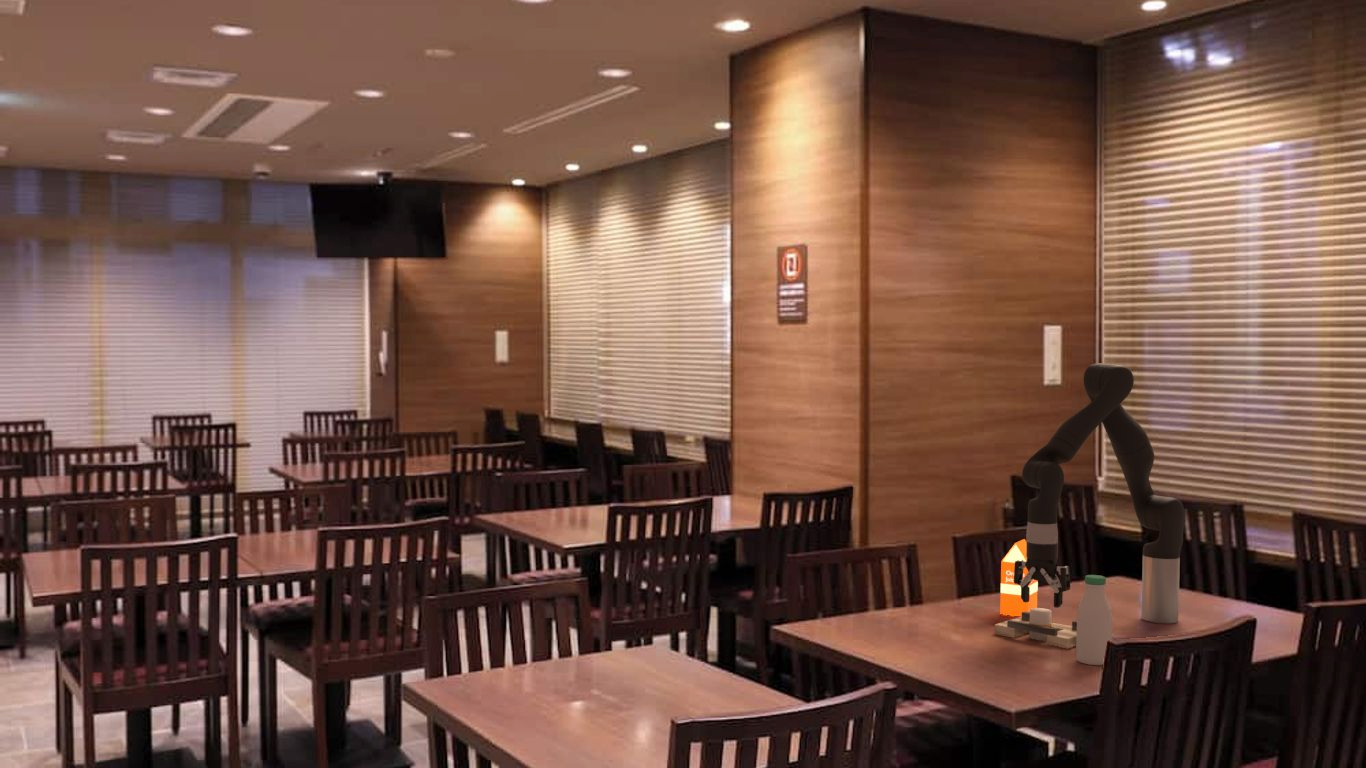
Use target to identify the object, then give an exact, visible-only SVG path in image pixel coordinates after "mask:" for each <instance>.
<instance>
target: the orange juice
mask: <svg viewBox="0 0 1366 768" xmlns="http://www.w3.org/2000/svg"><path fill="white" fill-rule="evenodd" d="M1017 560H1023V561H1027V557H1026V539H1025V538H1024V539H1021V540H1019V541H1017V542H1014V544H1013V545H1012V547H1011V548H1010V549H1009V551H1008V552H1007V553H1006V555H1005V556H1004V557H1003V558H1002V560H1001V562H1000V563H1001V564H1000V565H1001V566H1000V568H1001V569H1000V608H999V609H1000V611H999V612H1000V613H999V614H1003V615H1002V616H1007V615H1010V616H1009V617H1014V616H1021V617H1022V612H1024V611H1028V612H1030V609H1032V608H1038V589H1039V588H1038V587H1039V582H1038V581H1039V580H1033V581H1032V582H1031V583H1030V584H1029V585H1028V587H1030V600H1029V602H1026V603H1025V602H1023V600H1022V599H1021V586H1020V585H1018V584H1015V583H1014V567H1015V561H1017ZM1027 573H1028V570H1027V568H1026V567H1025V568H1024V569H1023V579H1024V577H1025V576H1026V575H1027Z"/></svg>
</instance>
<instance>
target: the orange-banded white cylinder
mask: <svg viewBox="0 0 1366 768" xmlns="http://www.w3.org/2000/svg"><path fill="white" fill-rule="evenodd" d="M1052 615H1053V614H1052V610H1051V609H1048V608H1042V607H1037V608H1032V609H1030V621H1029V624H1034V625H1040V626H1045V627H1050V628H1051V627H1052V623H1053V622H1052ZM1051 622H1052V623H1051ZM1028 635H1029V637H1030V638H1029V637H1028V638H1029V639H1031V638H1032V639H1031V640H1034V639H1037V640H1036V641H1041V640H1046V641H1047V635H1046V634H1041V633H1036V632H1031V631H1029V633H1028Z"/></svg>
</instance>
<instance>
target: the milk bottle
mask: <svg viewBox="0 0 1366 768" xmlns="http://www.w3.org/2000/svg"><path fill="white" fill-rule="evenodd" d="M1106 582H1107V578H1106V577H1105V576H1103V575H1100V574H1099V575H1097V574H1088V575H1087V574H1086V575H1085V577H1084V586H1085V591H1084V593H1083V596H1082V598H1081V600H1080V602H1079V605H1078V606H1077V614H1076V616H1077V618H1076V620H1077V638H1076V646H1075V647H1076V648H1075V651H1076V653H1075V655H1076V657H1075V658H1076V661H1077V662H1079V663H1080V664H1084V665H1090V666H1103V665H1102V663H1103V658H1104V653H1105V648H1106V643H1107V641H1108V640H1112V638H1113V636H1112V635H1113V631H1112V630H1113V622H1112V621H1113V617H1112V616H1113V615H1112V608H1111V605H1110V603H1109V600H1108V597H1107V594H1106V590H1105V587H1106Z"/></svg>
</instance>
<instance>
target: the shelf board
mask: <svg viewBox="0 0 1366 768" xmlns="http://www.w3.org/2000/svg"><path fill="white" fill-rule="evenodd" d="M1029 621H1030V612H1028V611H1024V612H1022V617H1015V618H1013V619H1008V620H1005V621H1002V622H999V623H996V624H994V635H998V636H1003V637H1008V638H1014V639H1015V638H1018V637H1020V636H1024V634H1025V635H1027V633H1028V634H1029V631H1031V632H1036V633H1041V634H1046V635H1047V640H1046V645H1047V644H1049V645H1048V646H1052V645H1053V646H1052V647H1057V646H1058V648H1063V649H1067V648H1068V649H1070V648H1074V647H1076V638H1077V619H1076V620H1073V621H1072V622H1071V625H1068V624H1067V625H1066V624H1061V623H1056V622H1052V621H1051V623H1052V627H1051V628H1050V627H1045V626H1040V625H1034V624H1029ZM1073 646H1074V647H1073Z"/></svg>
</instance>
